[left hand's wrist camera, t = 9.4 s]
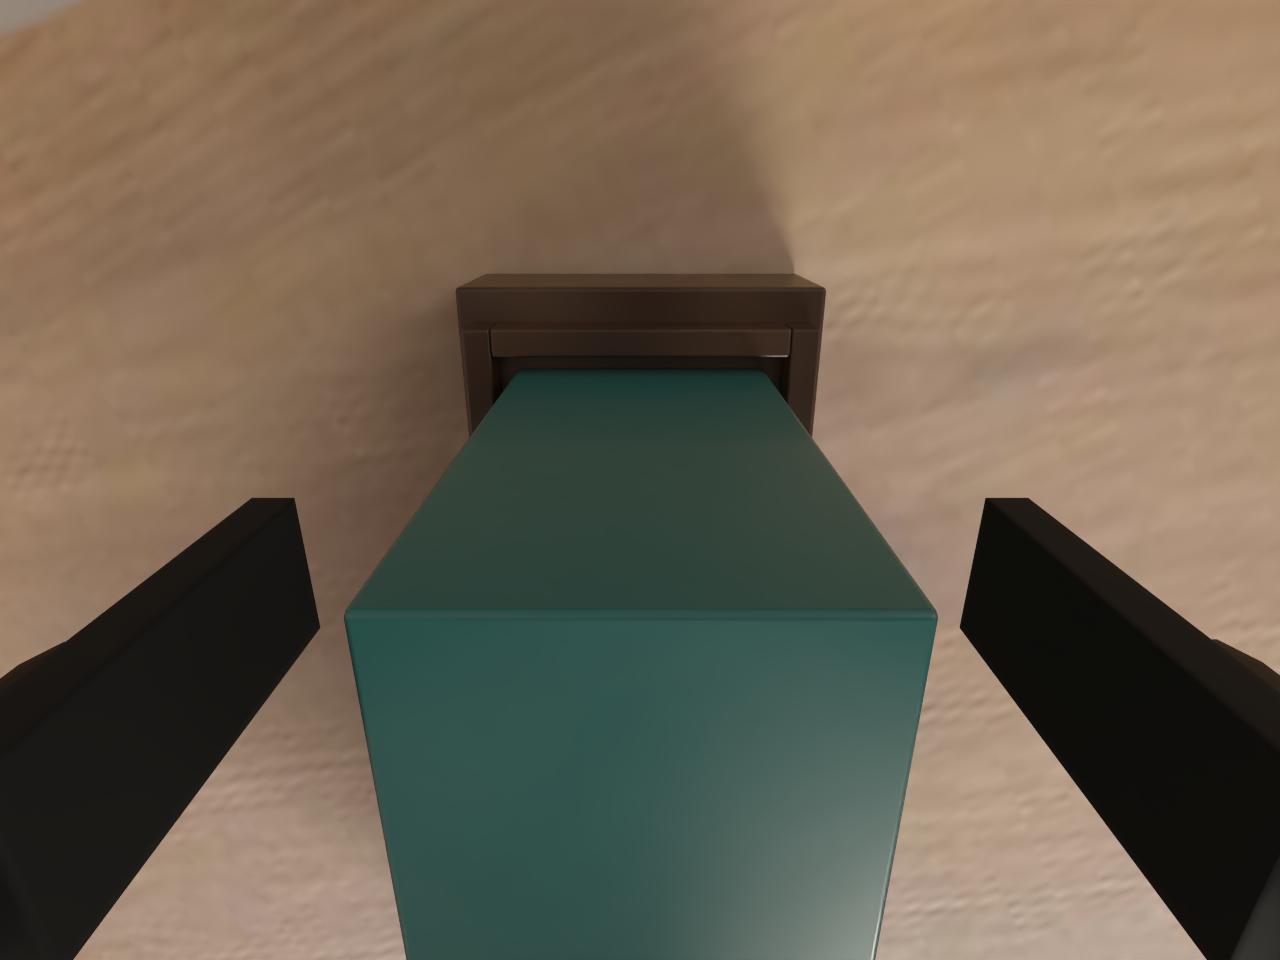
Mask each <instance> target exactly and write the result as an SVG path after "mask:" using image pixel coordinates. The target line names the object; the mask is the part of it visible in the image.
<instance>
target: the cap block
mask: <svg viewBox="0 0 1280 960" xmlns="http://www.w3.org/2000/svg"><path fill="white" fill-rule="evenodd" d="M937 620H938V616H937V612H936V610H935V608H934V607H933V606H932V604H931V603H930V601H929V600H928V599H927V597H926V596H925V594H924V593H923V592H922V590H921V589H920V588H919V586H918V585H917V583H916V582H915V581H914V579H913V578H912V576H911V575H910V574H909V572H908V571H907V569H906V568H905V567H904V565H903V564H902V562H901V561H900V560H899V558H898V557H897V556H896V554H895V553H894V551H893V550H892V549H891V547H890V546H889V544H888V543H887V542H886V540H885V539H884V537H883V536H882V535H881V533H880V532H879V531H878V529H877V528H876V526H875V525H874V524H873V522H872V521H871V519H870V518H869V517H868V515H867V514H866V512H865V511H864V510H863V508H862V507H861V505H860V504H859V503H858V501H857V500H856V499H855V497H854V496H853V494H852V493H851V492H850V490H849V489H848V487H847V486H846V485H845V483H844V482H843V480H842V479H841V478H840V476H839V475H838V474H837V472H836V471H835V469H834V468H833V467H832V465H831V464H830V462H829V461H828V460H827V458H826V457H825V455H824V454H823V453H822V451H821V450H820V448H819V447H818V446H817V444H816V443H815V442H814V440H813V439H812V437H811V436H810V435H809V433H808V432H807V430H806V429H805V428H804V426H803V425H802V423H801V422H800V421H799V419H798V418H797V417H796V415H795V414H794V412H793V411H792V410H791V408H790V407H789V405H788V404H787V403H786V401H785V400H784V398H783V397H782V396H781V394H780V393H779V391H778V390H777V389H776V387H775V386H774V385H773V383H772V382H771V380H770V379H769V378H768V376H767V375H766V373H765V372H764V371H763V370H762V369H520V370H518V371H517V373H516V374H515V375H514V377H513V378H512V380H511V381H510V382H509V384H508V385H507V387H506V388H505V389H504V391H503V392H502V394H501V395H500V396H499V398H498V399H497V400H496V402H495V403H494V405H493V406H492V407H491V409H490V410H489V412H488V413H487V414H486V416H485V417H484V419H483V420H482V421H481V423H480V424H479V426H478V427H477V428H476V430H475V431H474V432H473V434H472V435H471V437H470V438H469V439H468V441H467V442H466V444H465V445H464V446H463V448H462V449H461V451H460V452H459V453H458V455H457V456H456V458H455V459H454V460H453V462H452V463H451V465H450V466H449V467H448V469H447V470H446V471H445V473H444V474H443V476H442V477H441V478H440V480H439V481H438V483H437V484H436V485H435V487H434V488H433V490H432V491H431V492H430V494H429V495H428V497H427V498H426V499H425V501H424V502H423V503H422V505H421V506H420V508H419V509H418V510H417V512H416V513H415V515H414V516H413V517H412V519H411V520H410V522H409V523H408V524H407V526H406V527H405V529H404V530H403V531H402V533H401V534H400V535H399V537H398V538H397V540H396V541H395V542H394V544H393V545H392V547H391V548H390V549H389V551H388V552H387V554H386V555H385V556H384V558H383V559H382V561H381V562H380V563H379V565H378V566H377V568H376V569H375V570H374V572H373V573H372V574H371V576H370V577H369V579H368V580H367V581H366V583H365V584H364V586H363V587H362V588H361V590H360V591H359V593H358V594H357V595H356V597H355V598H354V600H353V601H352V602H351V604H350V605H349V606H348V608H347V609H346V611H345V615H344V621H345V627H346V632H347V637H348V643H349V648H350V654H351V659H352V665H353V670H354V676H355V681H356V687H357V692H358V697H359V703H360V708H361V714H362V719H363V725H364V730H365V736H366V741H367V747H368V752H369V757H370V763H371V768H372V774H373V779H374V785H375V790H376V796H377V801H378V807H379V812H380V817H381V823H382V828H383V834H384V839H385V845H386V850H387V856H388V861H389V866H390V872H391V877H392V883H393V888H394V894H395V899H396V905H397V910H398V916H399V921H400V926H401V932H402V937H403V943H404V948H405V954H406V959H407V960H875V957H876V951H877V946H878V940H879V935H880V930H881V924H882V919H883V913H884V908H885V902H886V897H887V892H888V886H889V881H890V875H891V870H892V864H893V859H894V854H895V848H896V843H897V837H898V832H899V826H900V821H901V816H902V810H903V805H904V799H905V794H906V789H907V783H908V778H909V772H910V767H911V761H912V756H913V751H914V745H915V740H916V734H917V729H918V723H919V718H920V713H921V707H922V702H923V696H924V691H925V685H926V680H927V675H928V669H929V664H930V658H931V653H932V647H933V642H934V637H935V631H936V626H937Z"/></svg>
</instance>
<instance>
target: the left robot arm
mask: <svg viewBox="0 0 1280 960" xmlns="http://www.w3.org/2000/svg"><path fill="white" fill-rule="evenodd" d="M319 629H320V624H319V619H318V614H317V609H316V604H315V599H314V594H313V589H312V584H311V579H310V574H309V569H308V564H307V559H306V554H305V549H304V544H303V539H302V534H301V529H300V524H299V519H298V514H297V509H296V504H295V499H294V498H251V499H250V500H249V501H247V502H246V503H245V504H243V505H242V506H241V507H240V508H238V509H237V510H236V511H234V512H233V513H232V514H231V515H229V516H228V517H227V518H225V519H224V520H223V521H221V522H220V523H219V524H218V525H216V526H215V527H214V528H212V529H211V530H210V531H209V532H207V533H206V534H205V535H203V536H202V537H201V538H199V539H198V540H197V541H196V542H194V543H193V544H192V545H190V546H189V547H188V548H187V549H185V550H184V551H183V552H181V553H180V554H179V555H177V556H176V557H175V558H174V559H172V560H171V561H170V562H168V563H167V564H166V565H165V566H163V567H162V568H161V569H159V570H158V571H157V572H155V573H154V574H153V575H152V576H150V577H149V578H148V579H146V580H145V581H144V582H142V583H141V584H140V585H139V586H137V587H136V588H135V589H133V590H132V591H131V592H130V593H128V594H127V595H126V596H124V597H123V598H122V599H120V600H119V601H118V602H117V603H115V604H114V605H113V606H111V607H110V608H109V609H108V610H106V611H105V612H104V613H102V614H101V615H100V616H98V617H97V618H96V619H95V620H93V621H92V622H91V623H89V624H88V625H87V626H86V627H84V628H83V629H82V630H80V631H79V632H78V633H76V634H75V635H74V636H73V637H71V638H70V639H69V640H67V641H66V642H63V643H61V644H59V645H57V646H55V647H53V648H51V649H49V650H47V651H45V652H43V653H41V654H39V655H37V656H35V657H33V658H31V659H29V660H27V661H25V662H23V663H21V664H19V665H18V666H17V667H15V668H14V669H13V670H11V671H10V672H9V673H7V674H6V675H5V676H3V677H2V678H1V679H0V960H73V959H74V958H75V956H76V955H77V954H78V952H79V951H80V950H81V948H82V947H83V946H84V944H85V943H86V942H87V940H88V939H89V938H90V936H91V935H92V934H93V932H94V931H95V930H96V928H97V927H98V926H99V924H100V923H101V922H102V920H103V919H104V918H105V916H106V915H107V913H108V912H109V911H110V909H111V908H112V907H113V905H114V904H115V903H116V901H117V900H118V899H119V897H120V896H121V895H122V893H123V892H124V891H125V889H126V888H127V887H128V885H129V884H130V883H131V881H132V880H133V879H134V877H135V876H136V875H137V873H138V872H139V871H140V869H141V868H142V866H143V865H144V864H145V862H146V861H147V860H148V858H149V857H150V856H151V854H152V853H153V852H154V850H155V849H156V848H157V846H158V845H159V844H160V842H161V841H162V840H163V838H164V837H165V836H166V834H167V833H168V832H169V830H170V829H171V828H172V826H173V825H174V823H175V822H176V821H177V819H178V818H179V817H180V815H181V814H182V813H183V811H184V810H185V809H186V807H187V806H188V805H189V803H190V802H191V801H192V799H193V798H194V797H195V795H196V794H197V793H198V791H199V790H200V789H201V787H202V786H203V785H204V783H205V782H206V780H207V779H208V778H209V776H210V775H211V774H212V772H213V771H214V770H215V768H216V767H217V766H218V764H219V763H220V762H221V760H222V759H223V758H224V756H225V755H226V754H227V752H228V751H229V750H230V748H231V747H232V746H233V744H234V743H235V742H236V740H237V739H238V738H239V736H240V735H241V733H242V732H243V731H244V729H245V728H246V727H247V725H248V724H249V723H250V721H251V720H252V719H253V717H254V716H255V715H256V713H257V712H258V711H259V709H260V708H261V707H262V705H263V704H264V703H265V701H266V700H267V699H268V697H269V696H270V695H271V693H272V692H273V690H274V689H275V688H276V686H277V685H278V684H279V682H280V681H281V680H282V678H283V677H284V676H285V674H286V673H287V672H288V670H289V669H290V668H291V666H292V665H293V664H294V662H295V661H296V660H297V658H298V657H299V656H300V654H301V653H302V652H303V650H304V649H305V647H306V646H307V645H308V643H309V642H310V641H311V639H312V638H313V637H314V635H315V634H316V633H317V631H318V630H319ZM960 629H961V630H962V631H963V633H964V634H965V635H966V637H967V638H968V639H969V641H970V642H971V643H972V645H973V646H974V648H975V649H976V650H977V652H978V653H979V654H980V656H981V657H982V658H983V660H984V661H985V662H986V664H987V665H988V666H989V668H990V669H991V670H992V672H993V673H994V674H995V676H996V677H997V678H998V680H999V681H1000V682H1001V684H1002V685H1003V686H1004V688H1005V689H1006V691H1007V692H1008V693H1009V695H1010V696H1011V697H1012V699H1013V700H1014V701H1015V703H1016V704H1017V705H1018V707H1019V708H1020V709H1021V711H1022V712H1023V713H1024V715H1025V716H1026V717H1027V719H1028V720H1029V721H1030V723H1031V724H1032V725H1033V727H1034V728H1035V729H1036V731H1037V732H1038V734H1039V735H1040V736H1041V738H1042V739H1043V740H1044V742H1045V743H1046V744H1047V746H1048V747H1049V748H1050V750H1051V751H1052V752H1053V754H1054V755H1055V756H1056V758H1057V759H1058V760H1059V762H1060V763H1061V764H1062V766H1063V767H1064V768H1065V770H1066V771H1067V772H1068V774H1069V775H1070V776H1071V778H1072V779H1073V781H1074V782H1075V783H1076V785H1077V786H1078V787H1079V789H1080V790H1081V791H1082V793H1083V794H1084V795H1085V797H1086V798H1087V799H1088V801H1089V802H1090V803H1091V805H1092V806H1093V807H1094V809H1095V810H1096V811H1097V813H1098V814H1099V815H1100V817H1101V818H1102V819H1103V821H1104V822H1105V824H1106V825H1107V826H1108V828H1109V829H1110V830H1111V832H1112V833H1113V834H1114V836H1115V837H1116V838H1117V840H1118V841H1119V842H1120V844H1121V845H1122V846H1123V848H1124V849H1125V850H1126V852H1127V853H1128V854H1129V856H1130V857H1131V858H1132V860H1133V861H1134V862H1135V864H1136V865H1137V867H1138V868H1139V869H1140V871H1141V872H1142V873H1143V875H1144V876H1145V877H1146V879H1147V880H1148V881H1149V883H1150V884H1151V885H1152V887H1153V888H1154V889H1155V891H1156V892H1157V893H1158V895H1159V896H1160V897H1161V899H1162V900H1163V901H1164V903H1165V904H1166V905H1167V907H1168V908H1169V909H1170V911H1171V912H1172V914H1173V915H1174V916H1175V918H1176V919H1177V920H1178V922H1179V923H1180V924H1181V926H1182V927H1183V928H1184V930H1185V931H1186V932H1187V934H1188V935H1189V936H1190V938H1191V939H1192V940H1193V942H1194V943H1195V944H1196V946H1197V947H1198V948H1199V950H1200V951H1201V952H1202V954H1203V955H1204V957H1205V958H1206V959H1207V960H1280V675H1279V674H1277V673H1276V672H1275V671H1273V670H1272V669H1271V668H1269V667H1268V666H1267V665H1265V664H1264V663H1263V662H1261V661H1259V660H1257V659H1255V658H1253V657H1251V656H1249V655H1247V654H1245V653H1243V652H1241V651H1239V650H1237V649H1235V648H1233V647H1231V646H1229V645H1227V644H1225V643H1223V642H1221V641H1219V640H1217V639H1210V638H1209V637H1207V636H1206V635H1205V634H1203V633H1202V632H1201V631H1200V630H1198V629H1197V628H1196V627H1194V626H1193V625H1192V624H1191V623H1189V622H1188V621H1187V620H1185V619H1184V618H1183V617H1181V616H1180V615H1179V614H1178V613H1176V612H1175V611H1174V610H1172V609H1171V608H1170V607H1169V606H1167V605H1166V604H1165V603H1163V602H1162V601H1161V600H1159V599H1158V598H1157V597H1156V596H1154V595H1153V594H1152V593H1150V592H1149V591H1148V590H1147V589H1145V588H1144V587H1143V586H1141V585H1140V584H1139V583H1137V582H1136V581H1135V580H1134V579H1132V578H1131V577H1130V576H1128V575H1127V574H1126V573H1125V572H1123V571H1122V570H1121V569H1119V568H1118V567H1117V566H1115V565H1114V564H1113V563H1112V562H1110V561H1109V560H1108V559H1106V558H1105V557H1104V556H1103V555H1101V554H1100V553H1099V552H1097V551H1096V550H1095V549H1093V548H1092V547H1091V546H1090V545H1088V544H1087V543H1086V542H1084V541H1083V540H1082V539H1081V538H1079V537H1078V536H1077V535H1075V534H1074V533H1073V532H1071V531H1070V530H1069V529H1068V528H1066V527H1065V526H1064V525H1062V524H1061V523H1060V522H1059V521H1057V520H1056V519H1055V518H1053V517H1052V516H1051V515H1049V514H1048V513H1047V512H1046V511H1044V510H1043V509H1042V508H1040V507H1039V506H1038V505H1037V504H1035V503H1034V502H1033V501H1031V500H1030V499H1029V498H986V499H985V504H984V509H983V514H982V519H981V524H980V529H979V534H978V539H977V544H976V549H975V554H974V559H973V564H972V569H971V574H970V579H969V584H968V589H967V594H966V599H965V604H964V609H963V614H962V619H961V624H960Z"/></svg>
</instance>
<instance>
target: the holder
mask: <svg viewBox="0 0 1280 960" xmlns="http://www.w3.org/2000/svg"><path fill="white" fill-rule="evenodd" d="M825 296H826V290H825V288H823V287H821V286H819V285H817V284H815V283H813V282H811V281H809V280H807V279H805V278H803V277H800V276H798V275H796V274H485V275H483V276H481V277H479V278H477V279H475V280H473V281H471V282H469V283H466V284H464V285H462V286H460V287H458V288H456V301H457V312H458V322H459V333H460V343H461V354H462V364H463V375H464V385H465V396H466V407H467V417H468V428H469V438H470V437H471V435H472V434H473V432H474V431H475V430H476V428H477V427H478V426H479V424H480V423H481V421H482V420H483V419H484V417H485V416H486V414H487V413H488V412H489V410H490V409H491V407H492V406H493V405H494V403H495V402H496V400H497V399H498V398H499V396H500V395H501V394H502V392H503V391H504V389H505V388H506V387H507V385H508V384H509V382H510V381H511V380H512V378H513V377H514V375H515V374H516V373H517V371H518V370H520V369H762V370H763V371H764V372H765V373H766V375H767V376H768V378H769V379H770V380H771V382H772V383H773V385H774V386H775V387H776V389H777V390H778V391H779V393H780V394H781V396H782V397H783V398H784V400H785V401H786V403H787V404H788V405H789V407H790V408H791V410H792V411H793V412H794V414H795V415H796V417H797V418H798V419H799V421H800V422H801V423H802V425H803V426H804V428H805V429H806V430H807V432H808V433H809V435H810V436H811V437H812V432H813V422H814V411H815V401H816V390H817V380H818V369H819V359H820V349H821V338H822V328H823V317H824V307H825Z"/></svg>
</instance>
